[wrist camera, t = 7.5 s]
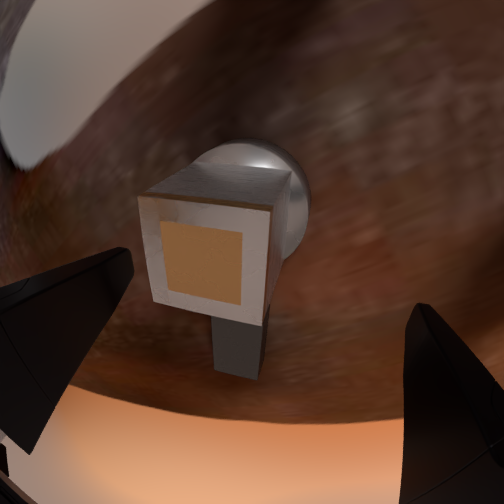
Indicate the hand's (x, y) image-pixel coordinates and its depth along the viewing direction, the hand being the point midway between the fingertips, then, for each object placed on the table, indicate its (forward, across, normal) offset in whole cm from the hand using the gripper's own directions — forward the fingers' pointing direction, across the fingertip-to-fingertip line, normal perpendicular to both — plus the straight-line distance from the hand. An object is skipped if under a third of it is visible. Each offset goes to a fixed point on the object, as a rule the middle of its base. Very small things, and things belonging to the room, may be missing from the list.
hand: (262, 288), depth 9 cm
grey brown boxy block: (+9, +4, +2) cm, 10 cm away
